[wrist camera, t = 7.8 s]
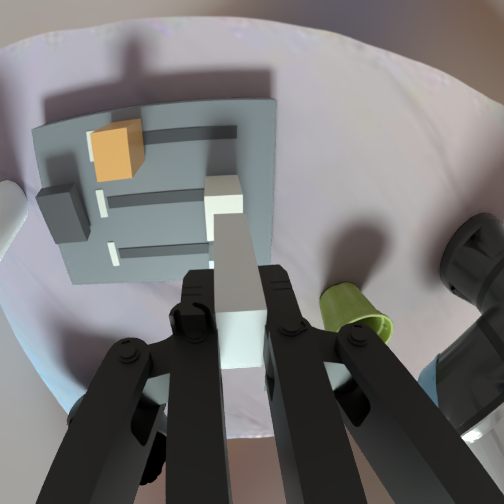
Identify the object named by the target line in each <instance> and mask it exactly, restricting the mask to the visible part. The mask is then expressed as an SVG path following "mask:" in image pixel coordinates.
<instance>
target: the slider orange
mask: <svg viewBox="0 0 504 504" xmlns="http://www.w3.org/2000/svg"><path fill="white" fill-rule="evenodd" d="M90 138H91V145H92V152H93V159H94V165H95V171H96V177H97V182H104V181H112V180H120V179H129V178H133V177H134V175H135V174H136V172H137V171H138V170H139V168H140V167H141V165H142V164H143V163H144V161H145V155H144V145H143V134H142V123H141V118H139V119H132V120H125V121H118V122H112V123H109V124H107V125H105V126H103V127H101V128H99V129H97V130H95V131H94V132H92V133H90Z"/></svg>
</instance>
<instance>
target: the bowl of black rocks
mask: <svg viewBox="0 0 504 504" xmlns="http://www.w3.org/2000/svg"><path fill="white" fill-rule="evenodd" d="M84 396H85V394H84V395H83V396H82V397H81V398H79V399H78V400H77V401H76V403H75V404H74V405H73V407H72V409H71V410H70V412H69V415H68V418H67V425H68V428H69V426H70V424H71V422H72V420H73V418H74V416H75V414H76V412H77V410H78V408H79V406H80V404H81V402H82V400H83V398H84ZM166 437H167V416H166V415H165V413H164V412H163V415H162V418H161V421H160V424H159V427H158V430H157V433H156V436H155V439H154V441H153V444H152V447H151V450H150V453H149V456H148V459H147V462H146V465H145V469H144V472H143V475H142V478H141V481H140V484H139V485H146V484H147V483H152V482H153V481H154V480H156V479H157V476H158V475H160V474H161V472H162V467H163V464H164V462H165V461H166Z"/></svg>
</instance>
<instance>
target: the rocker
mask: <svg viewBox="0 0 504 504" xmlns="http://www.w3.org/2000/svg"><path fill="white" fill-rule="evenodd" d="M35 198H36V200H37V203H38V205H39V208H40V210H41V212H42V215H43V217H44V219H45V222H46V224H47V226H48V228H49V231H50V233H51V235H52V237H53V239H54V241H55V244H62V243H73V242H85V241H88V238H89V235H90V233H91V229H90V226H89V224H88V221H87V218H86V215H85V213H84V210H83V207H82V204H81V201H80V198H79V195H78V192H77V189H76V186H75V183H69V184H63V185H57V186H51V187H46V188H42V189H41V190H40V192H39V193H38V194H37V196H36V197H35Z"/></svg>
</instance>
